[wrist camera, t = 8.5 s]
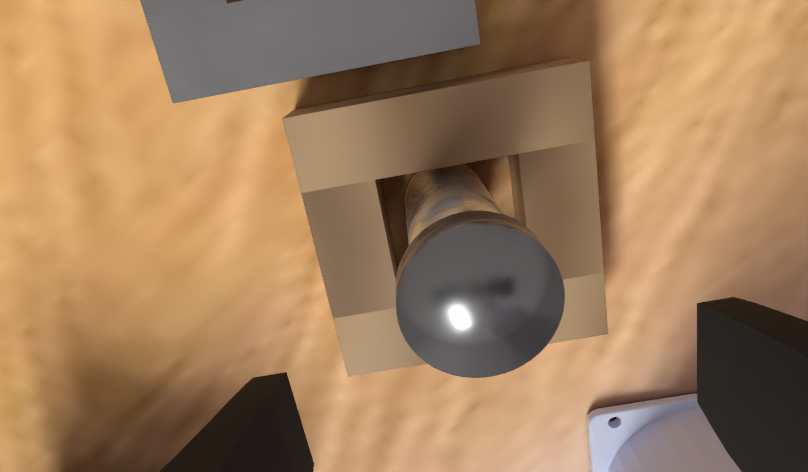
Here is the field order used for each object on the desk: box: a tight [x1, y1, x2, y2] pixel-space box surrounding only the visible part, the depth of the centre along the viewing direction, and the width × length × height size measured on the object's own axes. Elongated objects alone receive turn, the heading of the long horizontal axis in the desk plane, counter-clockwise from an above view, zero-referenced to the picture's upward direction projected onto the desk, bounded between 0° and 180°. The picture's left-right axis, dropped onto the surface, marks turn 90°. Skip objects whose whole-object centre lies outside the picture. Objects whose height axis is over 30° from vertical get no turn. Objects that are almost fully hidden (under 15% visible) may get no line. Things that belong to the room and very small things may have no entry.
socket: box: [283, 57, 608, 376], centre depth 19 cm, size 9×9×2 cm
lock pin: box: [396, 164, 565, 378], centre depth 16 cm, size 4×4×8 cm
